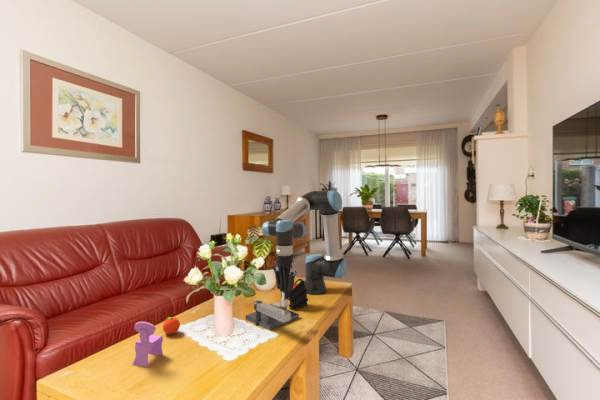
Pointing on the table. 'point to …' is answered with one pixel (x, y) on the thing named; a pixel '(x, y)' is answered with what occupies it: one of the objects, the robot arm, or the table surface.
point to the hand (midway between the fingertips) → (284, 305)
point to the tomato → (171, 325)
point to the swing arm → (272, 311)
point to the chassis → (270, 318)
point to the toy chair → (146, 343)
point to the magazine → (298, 295)
